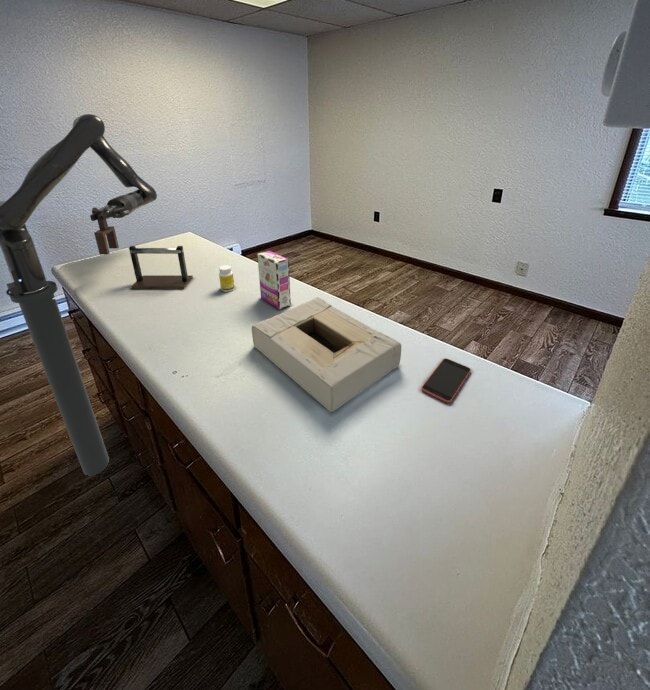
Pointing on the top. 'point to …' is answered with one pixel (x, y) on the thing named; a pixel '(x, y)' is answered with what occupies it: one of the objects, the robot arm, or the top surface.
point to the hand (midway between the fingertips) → (95, 218)
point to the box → (326, 351)
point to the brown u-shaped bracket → (101, 237)
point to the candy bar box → (274, 279)
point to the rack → (159, 280)
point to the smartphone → (446, 380)
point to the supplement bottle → (226, 278)
